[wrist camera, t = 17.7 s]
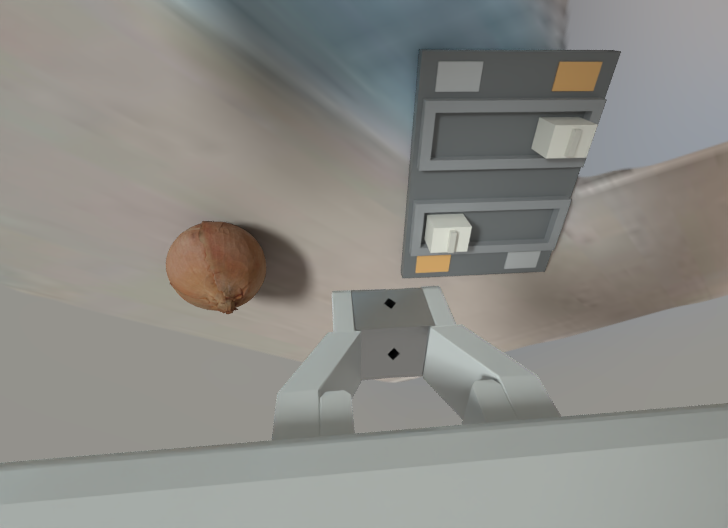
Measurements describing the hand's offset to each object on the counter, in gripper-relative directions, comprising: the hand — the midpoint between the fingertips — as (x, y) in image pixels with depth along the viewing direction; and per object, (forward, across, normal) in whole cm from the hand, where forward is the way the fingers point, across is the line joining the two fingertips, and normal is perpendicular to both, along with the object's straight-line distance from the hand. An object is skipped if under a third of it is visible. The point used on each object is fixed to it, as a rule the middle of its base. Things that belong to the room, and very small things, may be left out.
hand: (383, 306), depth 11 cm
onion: (+29, +13, +15) cm, 35 cm away
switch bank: (+29, -16, +8) cm, 34 cm away
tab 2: (+28, -21, +3) cm, 35 cm away
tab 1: (+28, -11, +13) cm, 33 cm away
